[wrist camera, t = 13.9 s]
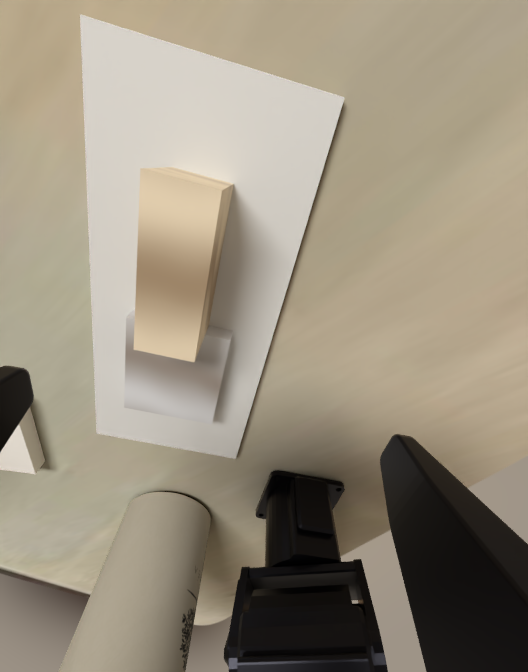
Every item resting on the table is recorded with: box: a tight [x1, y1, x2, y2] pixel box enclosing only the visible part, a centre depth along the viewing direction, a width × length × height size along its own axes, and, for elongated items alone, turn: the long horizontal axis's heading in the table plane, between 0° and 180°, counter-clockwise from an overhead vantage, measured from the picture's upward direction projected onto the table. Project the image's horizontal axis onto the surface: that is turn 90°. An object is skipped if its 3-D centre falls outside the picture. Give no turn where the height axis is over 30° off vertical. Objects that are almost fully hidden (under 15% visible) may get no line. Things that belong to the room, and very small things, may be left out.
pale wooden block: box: [124, 167, 234, 424], centre depth 17 cm, size 15×6×4 cm, turn 166°
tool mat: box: [80, 14, 345, 459], centre depth 19 cm, size 24×11×1 cm, turn 166°
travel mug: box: [59, 492, 211, 672], centre depth 22 cm, size 8×8×18 cm
